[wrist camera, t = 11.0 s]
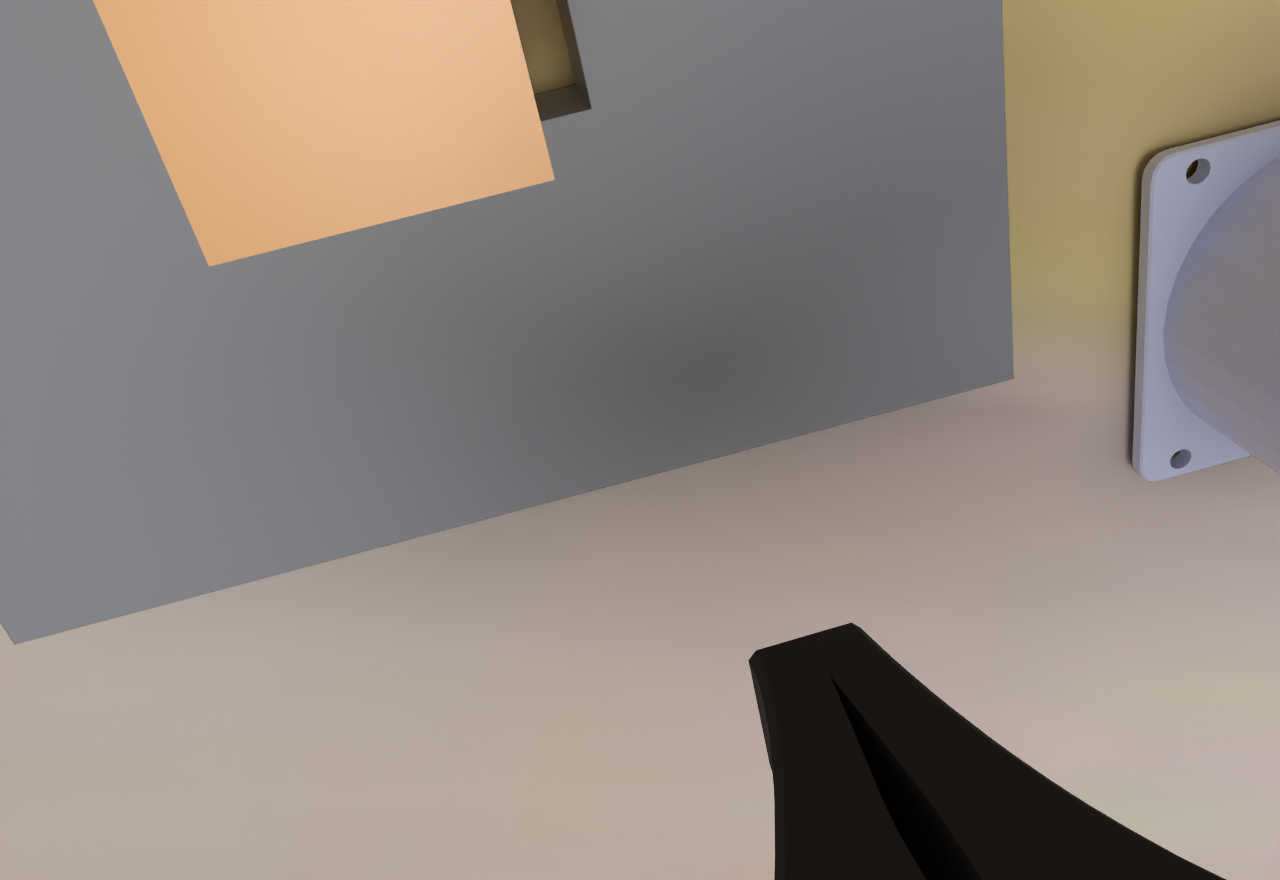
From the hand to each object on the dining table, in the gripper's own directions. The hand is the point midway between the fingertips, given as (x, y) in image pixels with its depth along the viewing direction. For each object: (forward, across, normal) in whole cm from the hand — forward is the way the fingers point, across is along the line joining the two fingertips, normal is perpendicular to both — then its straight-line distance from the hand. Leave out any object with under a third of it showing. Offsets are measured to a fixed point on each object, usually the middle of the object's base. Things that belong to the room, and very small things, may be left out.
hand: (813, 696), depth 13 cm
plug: (+11, +3, -8) cm, 14 cm away
